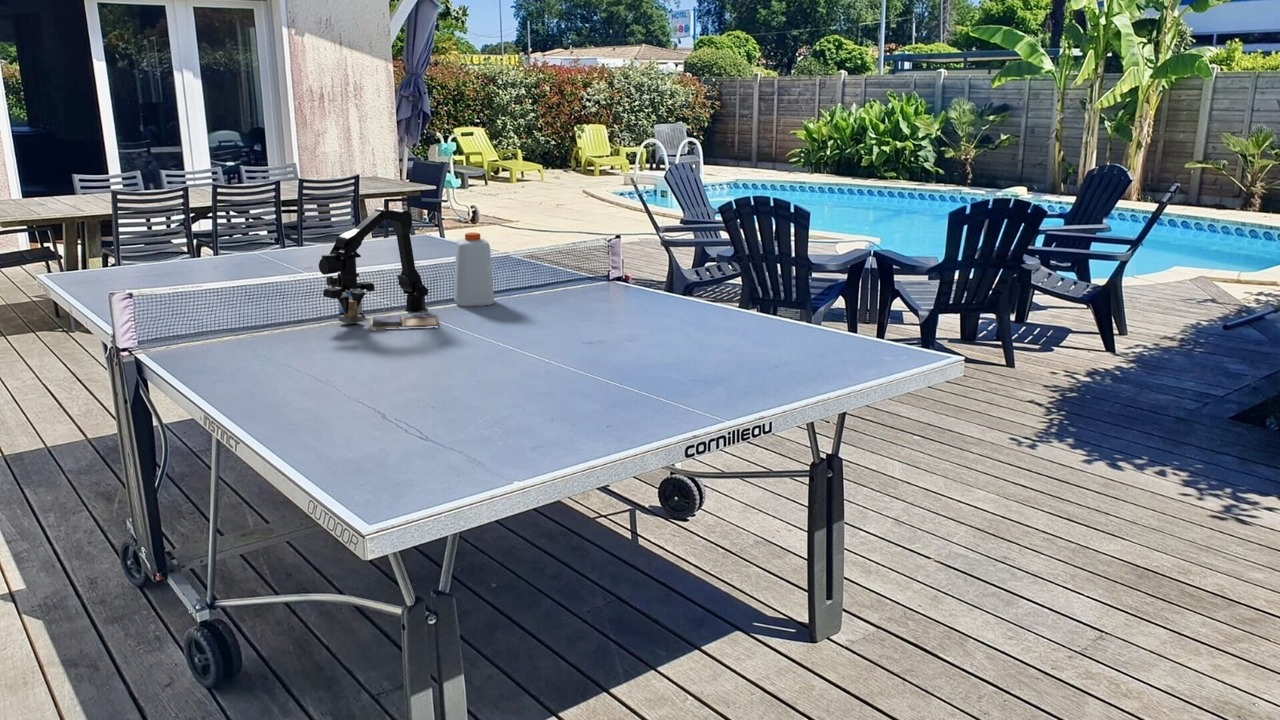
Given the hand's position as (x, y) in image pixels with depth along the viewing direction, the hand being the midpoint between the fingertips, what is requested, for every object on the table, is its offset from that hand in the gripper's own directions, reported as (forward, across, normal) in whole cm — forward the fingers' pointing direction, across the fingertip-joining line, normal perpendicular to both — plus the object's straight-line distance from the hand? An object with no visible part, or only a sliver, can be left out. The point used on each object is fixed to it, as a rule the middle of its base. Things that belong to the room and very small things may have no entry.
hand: (350, 312), depth 366 cm
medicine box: (+4, -10, -13) cm, 17 cm away
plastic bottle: (+4, -54, +8) cm, 55 cm away
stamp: (+3, 0, 0) cm, 3 cm away
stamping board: (+4, -12, +15) cm, 20 cm away
